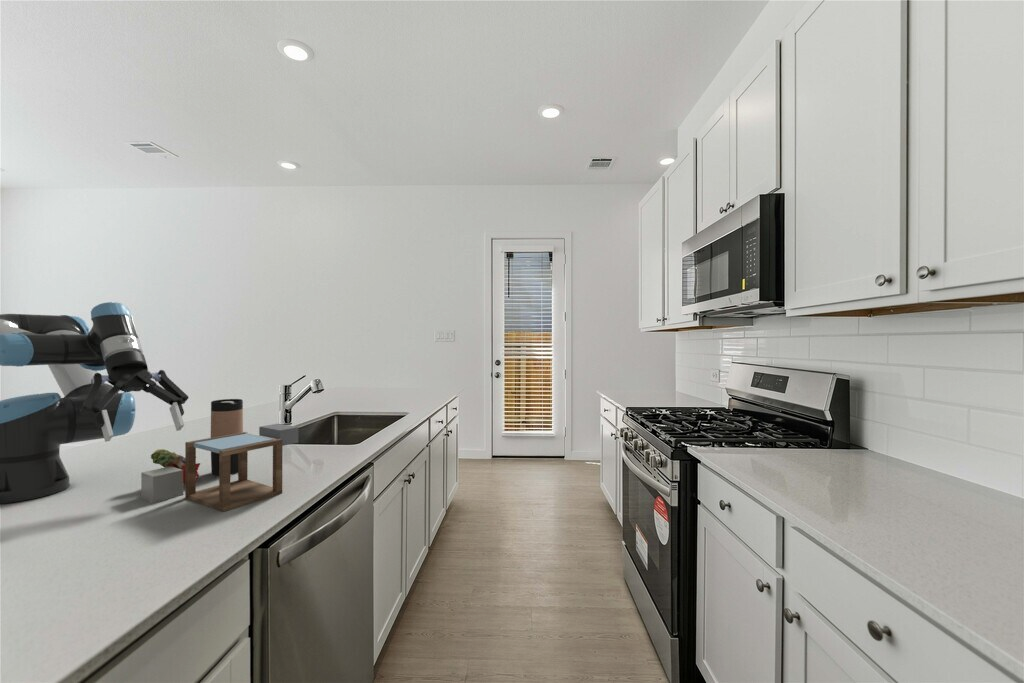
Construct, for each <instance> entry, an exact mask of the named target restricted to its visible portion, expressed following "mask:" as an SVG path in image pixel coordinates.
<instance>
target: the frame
mask: <svg viewBox="0 0 1024 683" xmlns="http://www.w3.org/2000/svg"><path fill="white" fill-rule="evenodd" d="M245 433H248V432H247V431H243V432H242V433H236V434H230V435H225V436H219V437H213V438H211V437H209V438H208V437H207V438H203V439H197V440H191V441H186V442H185V449H184V450H185V457H184V458H185V483H184V486H185V487H184V490H185V492H184V497H185V498H186V499H188V500H191V501H193V502H197V503H199V504H201V505H204V506H206V507H210V508H212V509H215V510H218V511H220V512H226V511H229V510H232V509H233V510H234V509H236V508H238V507H242V506H246V505H248V504H251V503H252V504H253V503H255V502H258V501H261V500H264V499H268V498H272V497H274V496H277V495H281V494H283V440H282V439H276V440H271V441H266V442H260V443H255V444H250V445H245V446H240V447H235V448H230V449H225V450H220V451H219V480H218V482H219V483H218V484H219V485H215V486H211V487H208V488H203V489H200V490H197V487H196V486H197V485H196V482H197V481H196V480H197V479H196V478H197V476H196V464H197V451H196V450H197V448H195V447H194V443H196V442H201V441H207V440H213V439H218V438H224V437H230V436H235V435H241V434H245ZM269 447H272V486H271V485H267V484H264V483H261V482H257V481H253V480H250V479H248V464H249V463H248V459H249V458H248V452H249V451H255V450H259V449H260V450H261V449H263V448H269ZM236 453H238V473H237V480H234V481H231V475H230V455H231V454H236Z"/></svg>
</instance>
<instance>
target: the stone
mask: <svg viewBox="0 0 1024 683" xmlns="http://www.w3.org/2000/svg"><path fill="white" fill-rule="evenodd" d="M140 475H141V478H140V480H141V483H140V484H141V490H140V492H141V495H140V496H141V499H144V500H146V501H148V502H150V501H151V503H156V502H160V500H161V501H164V499H165V500H168V498H169V499H173V498H177V497H179V495H180V496H183V495H184V483H183V470H182V469H178V468H175V467H172V466H170V467H165V468H164V467H162V468H156V469H152V470H147V471H142V472H141V474H140Z"/></svg>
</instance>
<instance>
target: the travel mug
mask: <svg viewBox="0 0 1024 683" xmlns="http://www.w3.org/2000/svg"><path fill="white" fill-rule="evenodd" d="M243 405H244V400H243V399H240V398H228V399H227V398H225V399H217V400H216V399H215V400H211V402H210V438H213V437H219V436H225V435H230V434H236V433H242V432H244V419H243V418H244V414H243V413H244V412H243V411H244V408H243V407H244V406H243ZM210 465H211V467H210V468H211V475H212V476H216V477H217V476H219V453H215V452H211V451H210ZM234 474H238V453H236V454H231V455H230V476H231V475H234Z"/></svg>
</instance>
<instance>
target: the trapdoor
mask: <svg viewBox="0 0 1024 683" xmlns="http://www.w3.org/2000/svg"><path fill="white" fill-rule="evenodd" d="M299 428H300V427H299V426H293V425H290V424H289V425H288V424H282V423H273V424H266V425H262V426H259V427H258V429H259V431H258V433H259V435H258V434H254V433H253V434H252V433H250V432H249V433H248V432H247V433H245V434H241V435H235V436H230V437H224V438H218V439H213V440H207V441H201V442H196V443H194V447H195V448H196V449H201V450H203V451H208V452H210V453H211V452H215V453H219V451H220V450H225V449H230V448H235V447H240V446H245V445H250V444H255V443H260V442H266V441H271V440H276V439H282V440H283V446H288V445H293V444H298V443H299ZM283 446H282V447H283Z"/></svg>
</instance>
